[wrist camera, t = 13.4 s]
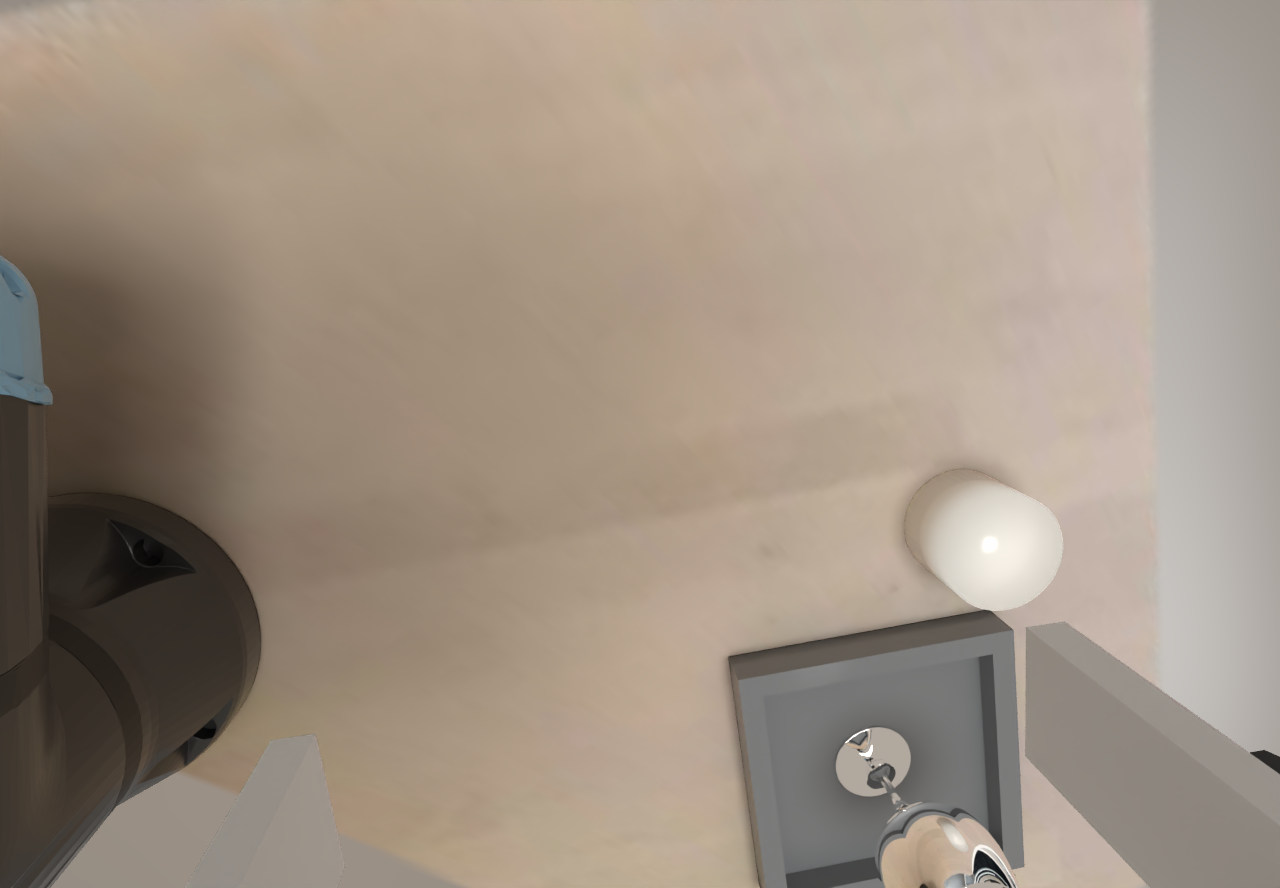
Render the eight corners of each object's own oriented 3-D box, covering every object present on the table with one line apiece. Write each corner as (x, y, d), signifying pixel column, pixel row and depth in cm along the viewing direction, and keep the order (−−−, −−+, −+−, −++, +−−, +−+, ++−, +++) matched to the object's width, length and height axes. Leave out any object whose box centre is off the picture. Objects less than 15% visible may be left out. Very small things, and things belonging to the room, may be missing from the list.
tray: (759, 883, 49) (769, 917, 46) (728, 656, 45) (738, 680, 43) (1000, 836, 49) (1024, 866, 47) (988, 609, 46) (1013, 629, 44)
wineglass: (804, 783, 46) (886, 958, 35) (857, 699, 45) (959, 851, 34) (887, 820, 47) (994, 1003, 36) (940, 739, 46) (1067, 899, 35)
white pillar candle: (908, 582, 45) (949, 620, 40) (899, 479, 44) (941, 506, 39) (1012, 562, 46) (1065, 599, 41) (1006, 460, 44) (1061, 485, 39)
